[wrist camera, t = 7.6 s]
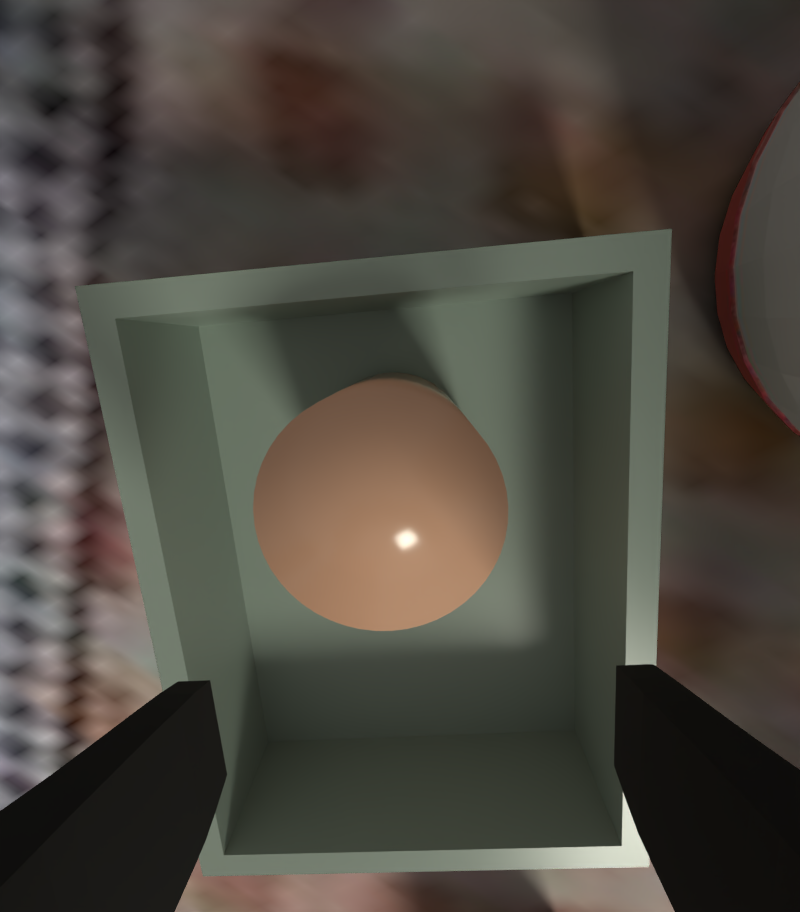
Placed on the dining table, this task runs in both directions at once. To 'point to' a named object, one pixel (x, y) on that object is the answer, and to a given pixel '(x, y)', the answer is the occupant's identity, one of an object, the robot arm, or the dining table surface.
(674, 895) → the robot arm
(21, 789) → the dining table surface
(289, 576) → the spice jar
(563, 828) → the tote
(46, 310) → the dining table surface
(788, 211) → the citrus juicer
